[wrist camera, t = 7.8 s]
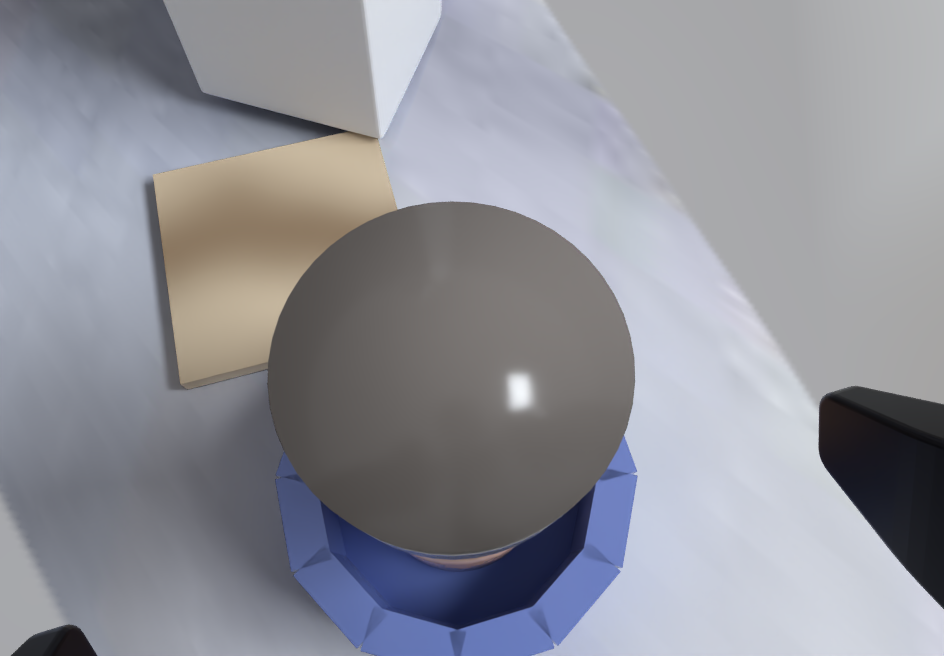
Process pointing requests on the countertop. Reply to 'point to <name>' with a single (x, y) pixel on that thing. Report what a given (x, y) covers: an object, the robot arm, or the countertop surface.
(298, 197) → the cork mat
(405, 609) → the bowl
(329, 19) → the milk carton
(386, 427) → the spice jar
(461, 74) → the countertop surface
